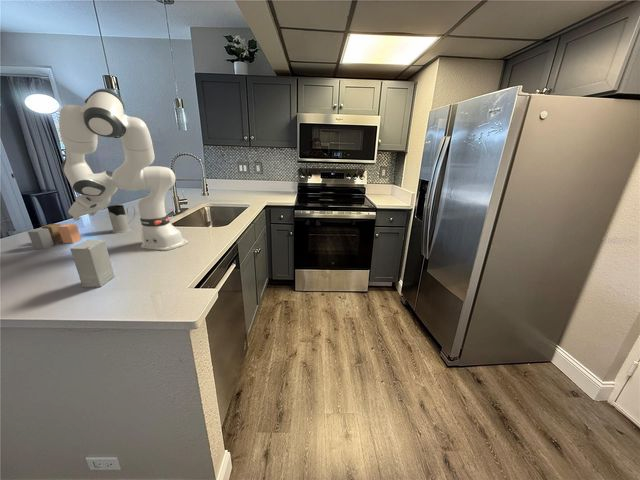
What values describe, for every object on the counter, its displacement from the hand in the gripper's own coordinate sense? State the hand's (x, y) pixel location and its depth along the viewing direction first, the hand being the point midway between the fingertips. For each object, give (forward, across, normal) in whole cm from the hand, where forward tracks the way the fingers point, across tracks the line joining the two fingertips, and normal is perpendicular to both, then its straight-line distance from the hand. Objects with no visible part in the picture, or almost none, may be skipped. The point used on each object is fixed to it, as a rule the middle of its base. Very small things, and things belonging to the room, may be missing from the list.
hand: (83, 217), depth 132 cm
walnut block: (+23, -1, -4) cm, 23 cm away
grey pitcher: (+7, -22, +13) cm, 26 cm away
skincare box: (-17, +43, +36) cm, 59 cm away
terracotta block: (+17, -1, +2) cm, 17 cm away
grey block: (+22, +7, -2) cm, 23 cm away
